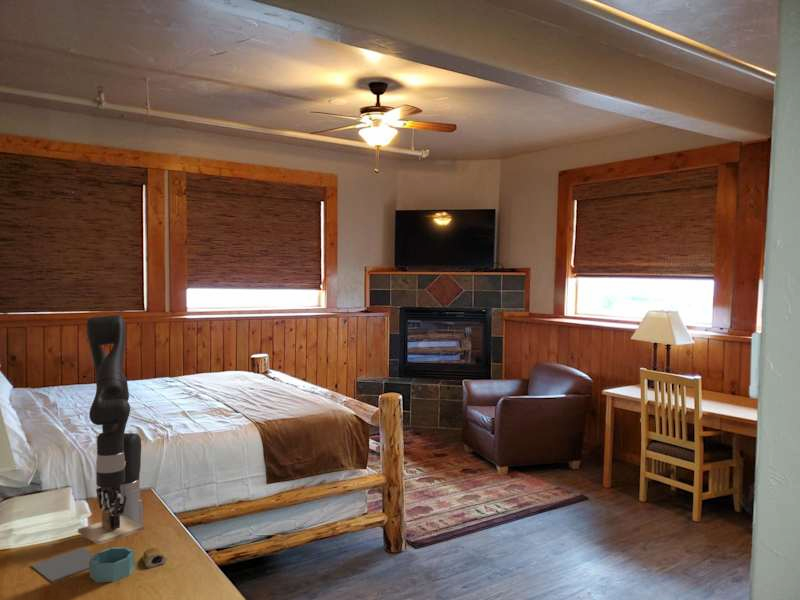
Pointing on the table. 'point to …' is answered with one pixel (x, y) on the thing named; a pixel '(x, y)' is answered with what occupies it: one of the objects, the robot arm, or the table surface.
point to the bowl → (112, 564)
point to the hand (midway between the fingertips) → (111, 525)
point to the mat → (64, 565)
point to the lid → (109, 529)
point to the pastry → (154, 557)
